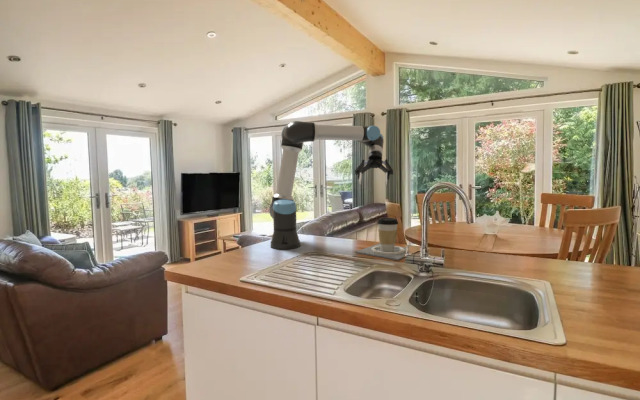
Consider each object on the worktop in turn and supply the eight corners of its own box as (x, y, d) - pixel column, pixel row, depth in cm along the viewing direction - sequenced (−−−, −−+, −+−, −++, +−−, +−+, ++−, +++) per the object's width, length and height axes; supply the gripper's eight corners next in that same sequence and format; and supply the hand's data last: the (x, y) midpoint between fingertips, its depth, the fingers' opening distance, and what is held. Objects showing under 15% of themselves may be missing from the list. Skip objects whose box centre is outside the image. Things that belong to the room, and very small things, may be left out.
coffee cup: (400, 249, 167) (401, 218, 166) (393, 253, 159) (394, 221, 158) (381, 247, 173) (381, 217, 171) (373, 251, 164) (373, 219, 163)
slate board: (355, 252, 165) (355, 249, 164) (379, 244, 181) (379, 241, 181) (397, 260, 150) (397, 257, 150) (419, 250, 167) (419, 248, 167)
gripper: (398, 159, 195) (397, 188, 182) (354, 160, 201) (349, 187, 188) (398, 149, 189) (397, 178, 176) (352, 150, 195) (348, 178, 182)
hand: (372, 183), depth 182 cm, fingers open, 13 cm apart
